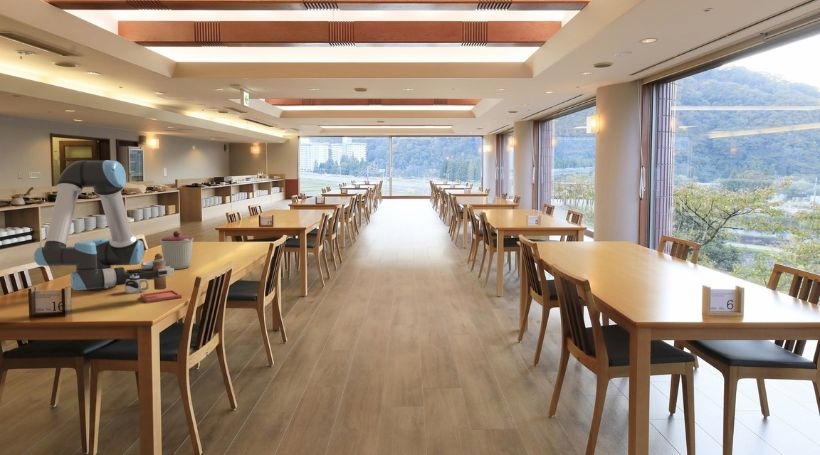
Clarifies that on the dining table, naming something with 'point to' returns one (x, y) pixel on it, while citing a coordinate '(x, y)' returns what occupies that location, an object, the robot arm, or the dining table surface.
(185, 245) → the canister
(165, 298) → the tray
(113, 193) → the robot arm
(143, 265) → the teacup
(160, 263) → the pepper mill
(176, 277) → the dining table surface
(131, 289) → the mug
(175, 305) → the dining table surface
